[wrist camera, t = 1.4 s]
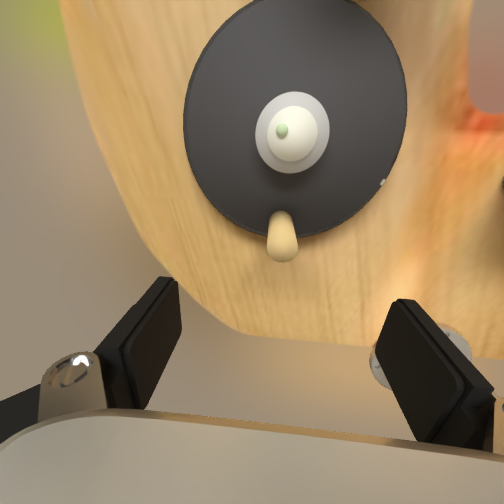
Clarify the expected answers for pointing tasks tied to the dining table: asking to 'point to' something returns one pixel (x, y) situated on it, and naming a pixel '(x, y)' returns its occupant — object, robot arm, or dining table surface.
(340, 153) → the wheel
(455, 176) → the dining table surface
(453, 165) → the dining table surface
